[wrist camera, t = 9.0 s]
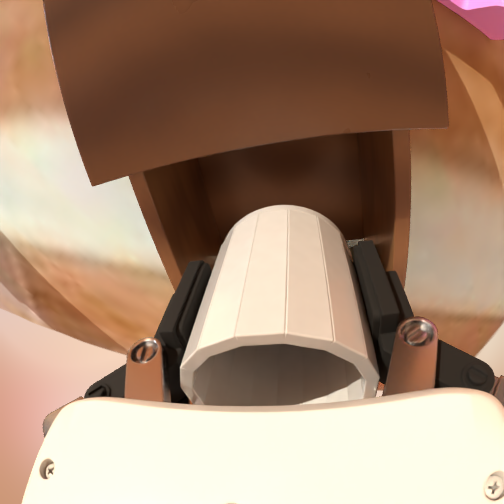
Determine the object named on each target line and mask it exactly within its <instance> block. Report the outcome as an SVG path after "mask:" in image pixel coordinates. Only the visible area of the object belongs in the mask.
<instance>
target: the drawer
mask: <svg viewBox="0 0 504 504" xmlns="http://www.w3.org/2000/svg"><path fill="white" fill-rule="evenodd" d="M129 179H130V181H131V184H132V187H133V190H134V192H135V195H136V198H137V200H138V203H139V206H140V208H141V211H142V214H143V216H144V219H145V221H146V224H147V226H148V229H149V231H150V234H151V236H152V239H153V241H154V244H155V246H156V248H157V251H158V253H159V256H160V258H161V260H162V263H163V265H164V267H165V270H166V272H167V274H168V276H169V279H170V281H171V283H172V285H173V288H174V290H175V292H176V289H177V287H178V285H179V283H180V281H181V278H182V276H183V274H184V272H185V270H186V267H187V265H188V263H189V262H190V261H199V260H203V261H204V262H205V263H208V264H209V265H210V268H211V271H212V270H213V268H214V265H215V262H216V259H217V256H218V253H219V251H220V248H221V245H222V244H223V243H224V240H225V238H226V236H227V234H228V233H229V231H230V230H231V229H232V227H233V226H234V225H235V224H236V223H237V222H238V221H239V220H241V219H242V218H243V217H245V216H246V215H248V214H250V213H252V212H254V211H256V210H259V209H262V208H265V207H270V206H275V205H294V206H300V207H304V208H308V209H311V210H313V211H316V212H318V213H320V214H322V215H323V216H325V217H326V218H328V219H329V220H330V221H331V222H333V223H334V224H335V225H336V226H337V228H338V229H339V230H340V231H341V233H342V234H343V236H344V238H345V240H354V239H362V238H364V241H367V240H372V241H373V243H374V245H375V248H376V250H377V253H378V255H379V258H380V260H381V263H382V265H383V268H384V270H385V272H387V271H394V270H395V271H396V272H397V274H398V277H399V279H400V281H401V284H402V286H403V289H404V286H405V278H406V268H407V258H408V246H409V231H410V210H411V154H410V133H409V130H390V131H375V132H362V133H351V134H341V135H332V136H323V137H315V138H307V139H300V140H293V141H286V142H279V143H273V144H267V145H261V146H255V147H250V148H244V149H239V150H234V151H228V152H223V153H219V154H214V155H209V156H204V157H200V158H195V159H191V160H187V161H183V162H178V163H174V164H170V165H166V166H162V167H158V168H155V169H151V170H147V171H143V172H140V173H136V174H133V175H129ZM348 248H349V250H350V251H351V255H352V258H353V262H354V252H353V247H348Z"/></svg>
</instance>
